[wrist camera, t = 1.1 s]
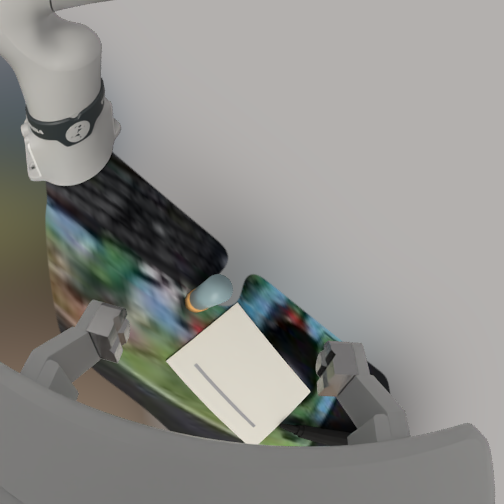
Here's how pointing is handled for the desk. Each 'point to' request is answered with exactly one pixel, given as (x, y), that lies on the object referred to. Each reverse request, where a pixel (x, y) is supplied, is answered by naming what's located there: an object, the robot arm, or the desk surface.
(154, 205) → the desk surface
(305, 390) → the paper
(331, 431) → the microphone
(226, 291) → the marker
